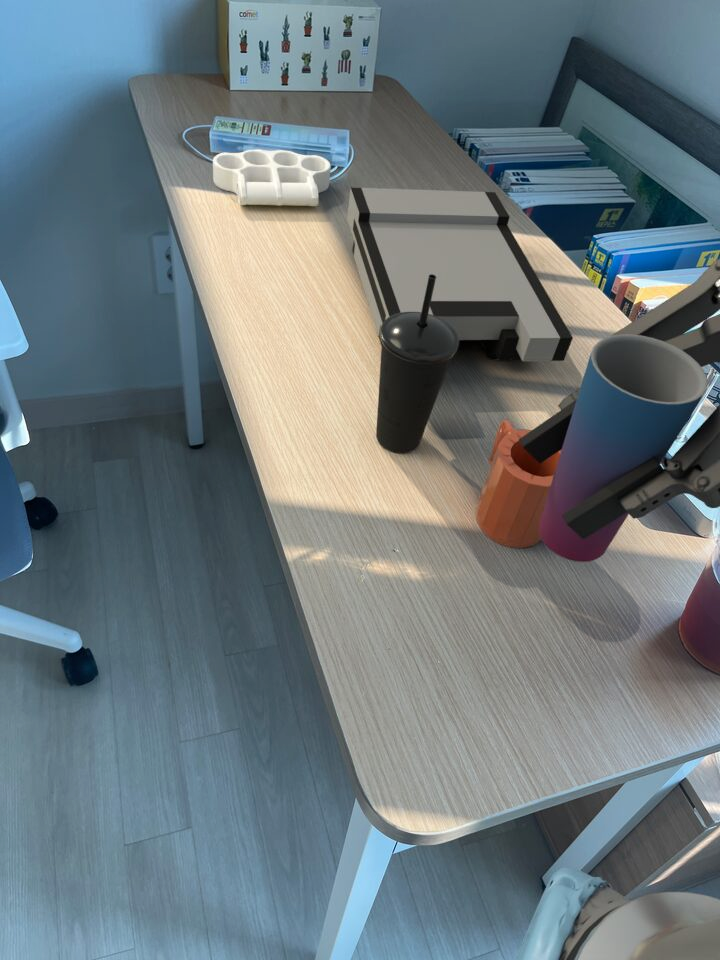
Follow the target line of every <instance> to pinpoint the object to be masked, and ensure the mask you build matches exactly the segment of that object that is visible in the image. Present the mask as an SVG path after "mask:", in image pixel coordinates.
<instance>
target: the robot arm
mask: <svg viewBox="0 0 720 960" xmlns="http://www.w3.org/2000/svg"><path fill="white" fill-rule="evenodd" d="M719 311H720V258H717V259H716V260H714V261H713V262H712V263H711V264H710V265H709V266H708V267H707V269H706V270H705V271H704V272H703V273H702V274H701V275H700V276H699V277H698V278H697V279H696V280H695V281H694V282H693V283H692V284H690V285H688V286H686V287H685V288H683V289H682V290H680V291H678V292H677V293H676V294H674V295H672V296H671V297H669V298H667V300H665V301H663V302H662V303H660V304H659V305H657V306H655V307H654V308H652V309H650V310H649V311H647V312H646V313H644V314H643V315H642V316H639V317H638V318H637V319H635V320H633V321H632V322H631V323H628V324H626V325H625V326H624V327H622V328H620V329H619V330H617V331H616V332H615V333H613V334H612V335H610V336H614V335H621V334H632V335H641V336H646V337H651V338H654V339H658V340H661V341H664V342H666V343H668V344H671V345H673V346H675V347H677V348H679V349H680V350H682V351H684V352H685V353H687V354H688V355H689V356H691V357H692V358H693V359H694V360H695V361H696V362H697V363H698V364H699V365H700V366H701V368H703V367H705V366H708V365H711V364H714V363H719V364H720V313H719V314H716V313H717V312H719ZM715 314H716V315H715ZM701 323H702V324H701ZM700 324H701V325H700ZM698 325H700V326H699V327H697V326H698ZM695 327H696V328H695ZM693 328H694V329H693ZM579 391H580V387H579V388H577V389H576V390H574V391H573V392H571V393H570V394H569V395H567V396H566V397H564V398H563V399H562V400H561V401H560V403H559V404H558V405H557V406H558V408H559V409H560V410H559V411H558V412H556V413H555V414H553V415H552V416H551V417H549V418H547V419H546V420H544V421H543V422H542V423H539V425H538V426H536V427H535V428H533V429H531V430H532V431H530V432H529V433H527V434H526V435H524V436H523V437H522V438H520V439H519V441H520V443H521V445H522V447H523V448H524V449H525V450H526V451H527V452H528V453H529V454H530V455H531V456H532V457H533V458H534V459H535V460H536V461H537V462H538V463H539V464H540V463H542V462H543V461H545V460H546V459H548V458H549V457H551V456H552V455H554V454H555V453H557V452H558V451H560V450H561V449H562V447H563V444H564V440H565V437H566V434H567V430H568V427H569V424H570V420H571V417H572V414H573V411H574V407H575V404H576V401H577V397H578V394H579ZM683 494H685V495H690V496H692V497H694V498H696V499H697V500H699V501H700V502H702V503H703V504H704V505H705V506H706V507H707V508H710V509H718V508H720V404H719V405H717V407H716V409H714V410H713V411H712V412H711V414H710V415H708V417H707V418H706V419H705V421H703V423H701V425H700V426H699V427H698V428H697V429H696V430H695V431H694V432H693V433H692V434H691V436H690V437H689V438H688V439H687V440H686V441H685V442H684V444H682V445H681V446H680V448H679V449H678V450H677V451H676V452H675V453H674V454H673V455H672V457H671V458H667V456H664V457H663V459H662V462H661V464H659V462H658V461H657V460H656V459H655V457H654V456H653V457H652V458H650V459H649V460H647V461H646V462H644V463H642V464H641V465H639V466H638V467H636V468H635V469H633V470H631V471H630V472H628V473H627V474H625V475H624V476H622V477H621V478H619V479H617V480H616V481H614V482H613V483H611V484H610V485H608V486H607V487H605V488H603V489H602V490H600V491H599V492H597V493H596V494H594V495H592V496H591V497H589V498H588V499H586V500H585V501H583V502H582V503H580V504H578V505H577V506H575V507H574V508H572V509H571V510H569V511H567V512H566V513H564V514H563V515H562V517H563V519H564V521H565V522H566V524H567V525H568V526H569V527H570V528H571V529H572V530H573V531H574V532H576V533H577V534H578V535H579V536H580V537H581V538H582V539H583V540H584V539H585V538H587V537H589V536H590V535H592V534H593V533H595V532H597V531H598V530H600V529H601V528H603V527H605V526H606V525H608V524H609V523H611V522H613V521H614V520H616V519H617V518H619V517H621V516H622V515H624V514H626V513H627V512H628V513H629V514H628V516H630V517H631V518H632V519H633V520H635V519H640V518H643V517H645V516H647V515H648V514H649V513H651V512H653V511H654V510H656V509H657V508H659V507H661V506H662V505H664V504H666V503H667V502H669V501H671V500H672V499H674V498H676V497H678V496H680V495H683ZM514 960H720V898H717V897H713V896H710V895H707V894H702V893H696V892H689V891H664V892H663V891H662V892H652V893H648V894H645V895H641V896H639V897H636V898H634V899H629V898H627V897H625V896H624V895H622V894H621V893H619V892H617V891H616V890H615V889H613V887H612V885H611V884H610V883H609V882H608V880H607V881H606V880H603V877H602V876H592V875H590V874H588V873H587V872H585V871H582V870H580V869H577V868H575V867H572V866H571V867H570V866H564V867H561V868H559V869H558V870H556V871H555V872H554V873H553V874H552V875H551V877H550V879H549V881H548V883H547V885H546V887H545V888H544V891H543V893H542V896H541V898H540V900H539V902H538V904H537V906H536V909H535V912H534V914H533V916H532V918H531V920H530V923H529V925H528V928H527V930H526V933H525V935H524V937H523V940H522V942H521V945H520V947H519V950H518V952H517V954H516V956H515V959H514Z"/></svg>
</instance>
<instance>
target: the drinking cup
mask: <svg viewBox="0 0 720 960" xmlns="http://www.w3.org/2000/svg"><path fill="white" fill-rule="evenodd" d="M435 281H436V276H435V275H433V274H431V275H429V277H428V282H427V287H426V292H425V296H424V301H423V306H422V311H421V312H401V313H397V314H394V315H392V316H390V317H388V318H387V319H386V320H385V321H384V322H383V324H382V325H381V328H380V339H381V341H382V346H381V351H380V366H379V380H378V381H379V383H378V401H377V413H376V415H377V417H376V430H375V432H376V433H375V436H376V441H377V442H378V443H379V445H380V446H381V447H382V448H384V449H385V450H387V451H388V452H392V453H395V454H408V453H411V452H413V451H415V450H416V449H417V448H418V447H419V446H420V443H421V441H422V438H423V436H424V433H425V430H426V428H427V426H428V422H429V419H430V417H431V414H432V411H433V408H434V406H435V404H436V401H437V399H438V395H439V393H440V390H441V386H442V385H443V382H444V379H445V376H446V375H447V371H448V368H449V366H450V363H451V361H452V358H453V357H454V355H455V354H456V353H457V352H458V349H459V346H460V340H459V337H458V334H457V332H456V331H455V329H454V328H453V327H452V326H451V325H450V324H449V323H447V322H446V321H444V320H443V319H441V318H439V317H436V316H434V315H431V314H428V313H429V308H430V303H431V299H432V294H433V290H434V285H435Z"/></svg>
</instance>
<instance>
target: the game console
mask: <svg viewBox="0 0 720 960" xmlns="http://www.w3.org/2000/svg"><path fill="white" fill-rule="evenodd" d="M349 190H350V191H349V198H348V205H347V206H348V207H347V216H346V220H347V223H348V226H349V229H350V232H351V236H352V239H353V243H352V249H351V251H352V254H353V258H354V261H355V266H356V268H357V271H358V275H359V278H360V282H361V284H362V288H363V291H364V295H365V298H366V302H367V304H368V305H367V306H368V307H369V312H370V314H371V318H372V321H373V324H374V328H375V330H376V334H377V337H378V340H379V343H380V347H382V341H381V339H380V328H381V325H382V324H383V322H384V321H385V320H386V319H387V318H388V317H390V316H392V315H394V314H397V313H401V312H421V311H422V306H423V301H424V296H425V292H426V287H427V282H428V277H429V275H431V274H433V275H435V276H436V281H435V285H434V290H433V294H432V299H431V303H430V308H429V313H428V314H431V315H434V316H436V317H439V318H441V319H443V320H444V321H446V322H447V323H449V324H450V325H451V326H452V327H453V328H454V329H455V331H456V332H457V334H458V337H459V341H480V343H481V345H482V347H483V349H484V351H485V354H486V356H487V358H488V360H489V361H490V360H491V361H493V360H498V362H509V361H511V362H515V361H517V362H518V361H519V362H520V361H522V362H564V361H565V360H566V356H567V354H568V352H569V349H570V346H571V344H572V341H573V339H574V338H573V336H572V333H571V332H570V330H569V328H568V327H567V325H566V323H565V322H564V320H563V318H562V317H561V315H560V313H559V312H558V310H557V308H556V306H555V304H554V303H553V301H552V299H551V297H550V296H549V294H548V292H547V291H546V289H545V287H544V286H543V284H542V282H541V280H540V279H539V277H538V275H537V273H536V272H535V270H534V268H533V267H532V265H531V263H530V261H529V259H528V258H527V256H526V255H525V253H524V251H523V249H522V248H521V246H520V244H519V242H518V241H517V239H516V238H515V236H514V234H513V233H512V231H511V229H510V227H509V225H508V224H509V220H510V214H509V213H508V212H507V210H506V208H505V206H504V205H503V203H502V201H501V199H500V197H499V196H498V195H497V193H496V192H495V191H472V190H471V191H470V190H469V191H468V190H467V191H465V190H442V189H441V190H436V189H410V188H409V189H408V188H383V187H382V188H379V187H378V188H377V187H352V186H351V187H350V189H349Z"/></svg>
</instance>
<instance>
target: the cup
mask: <svg viewBox="0 0 720 960" xmlns="http://www.w3.org/2000/svg"><path fill="white" fill-rule="evenodd" d="M708 384H709V382H708V377H707V374H706V372H705V370H704V369H703V367H701V366H700V365H699V364H698V363H697V362H696V361H695V360H694V359H693V358H692V357H691V356H689V355H688V354H687V353H685V352H684V351H682V350H680V349H679V348H677V347H675V346H673V345H671V344H668V343H666V342H664V341H661V340H658V339H654V338H651V337H646V336H641V335H632V334H621V335H614V336H611V335H609V336H607V337H604V338H602V339H601V340H598V341H597V342H596V343H595V344H594V346H593V347H592V349H591V351H590V355H589V358H588V361H587V364H586V367H585V371H584V374H583V377H582V381H581V384H580V387H579V388H580V391H579V394H578V397H577V401H576V404H575V407H574V411H573V414H572V417H571V420H570V424H569V427H568V430H567V434H566V437H565V440H564V444H563V447H562V450H561V453H560V457H559V460H558V463H557V467H556V470H555V473H554V477H553V480H552V483H551V486H550V490H549V493H548V496H547V500H546V503H545V506H544V510H543V513H542V516H541V519H540V523H539V533H540V536H541V541H542V542H543V543H544V545H545V546H546V547H547V548H548V549H549V550H550V551H551V552H552V553H554V554H555V555H557V556H559V557H561V558H563V559H565V560H569V561H572V562H580V563H588V562H592V561H595V560H597V559H600V558H601V557H602V556H604V554H605V553H606V551H607V550H608V548H609V546H610V545H611V544H612V542H613V540H614V538H615V537H616V535H617V534H618V532H619V530H620V529H621V527H622V525H623V524H624V523H625V521H626V519H627V518H628V516H629V513H628V512H627V513H626V514H624V515H622V516H621V517H619V518H617V519H616V520H614V521H613V522H611V523H609V524H608V525H606V526H605V527H603V528H601V529H600V530H598V531H597V532H595V533H593V534H592V535H590V536H589V537H587V538H585V539H584V540H583V539H582V538H581V537H580V536H579V535H578V534H577V533H576V532H574V531H573V530H572V529H571V528H570V527H569V526H568V525H567V524H566V522H565V521H564V519H563V517H562V515H563V514H564V513H566V512H567V511H569V510H571V509H572V508H574V507H575V506H577V505H578V504H580V503H582V502H583V501H585V500H586V499H588V498H589V497H591V496H592V495H594V494H596V493H597V492H599V491H600V490H602V489H603V488H605V487H607V486H608V485H610V484H611V483H613V482H614V481H616V480H617V479H619V478H621V477H622V476H624V475H625V474H627V473H628V472H630V471H631V470H633V469H635V468H636V467H638V466H639V465H641V464H642V463H644V462H646V461H647V460H649V459H650V458H652V457H653V456H654V457H655V459H656V460H657V461H658V462H659V464H660V465H662V459H663V457H664V456H665V457H667V454H668V452H669V451H670V449H671V448H672V446H673V445H674V443H675V441H676V440H677V438H678V437H679V435H680V433H681V432H682V430H683V428H684V427H685V426H686V424H687V422H688V421H689V419H690V417H691V416H692V414H693V413H694V411H695V409H696V408H697V406H698V405H699V403H700V402H701V400H702V399H703V397H704V396H705V393H706V392H707V391H708Z"/></svg>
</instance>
